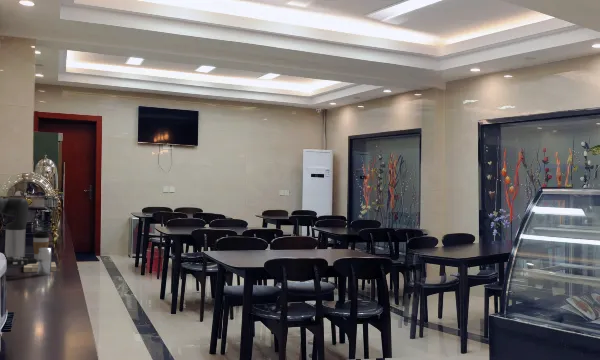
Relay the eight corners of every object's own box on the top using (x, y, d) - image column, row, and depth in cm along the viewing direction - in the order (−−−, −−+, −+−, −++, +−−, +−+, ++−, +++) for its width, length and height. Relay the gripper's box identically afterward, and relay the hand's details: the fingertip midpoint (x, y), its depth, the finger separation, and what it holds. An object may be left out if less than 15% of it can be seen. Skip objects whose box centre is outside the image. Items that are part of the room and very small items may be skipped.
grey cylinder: (39, 275, 259) (40, 249, 259) (36, 273, 263) (37, 247, 263) (52, 274, 263) (53, 248, 263) (48, 273, 267) (49, 247, 267)
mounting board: (23, 266, 284) (24, 262, 284) (54, 266, 290) (54, 262, 290) (23, 272, 267) (23, 267, 267) (56, 271, 273) (56, 267, 273)
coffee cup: (51, 259, 312) (52, 232, 313) (43, 261, 304) (44, 233, 304) (37, 259, 313) (38, 231, 313) (28, 260, 305) (29, 232, 305)
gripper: (-2, 255, 244) (38, 253, 255) (-10, 251, 255) (29, 250, 265) (-3, 273, 244) (38, 270, 254) (-10, 268, 255) (28, 266, 265)
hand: (33, 259), depth 260 cm, fingers open, 8 cm apart
